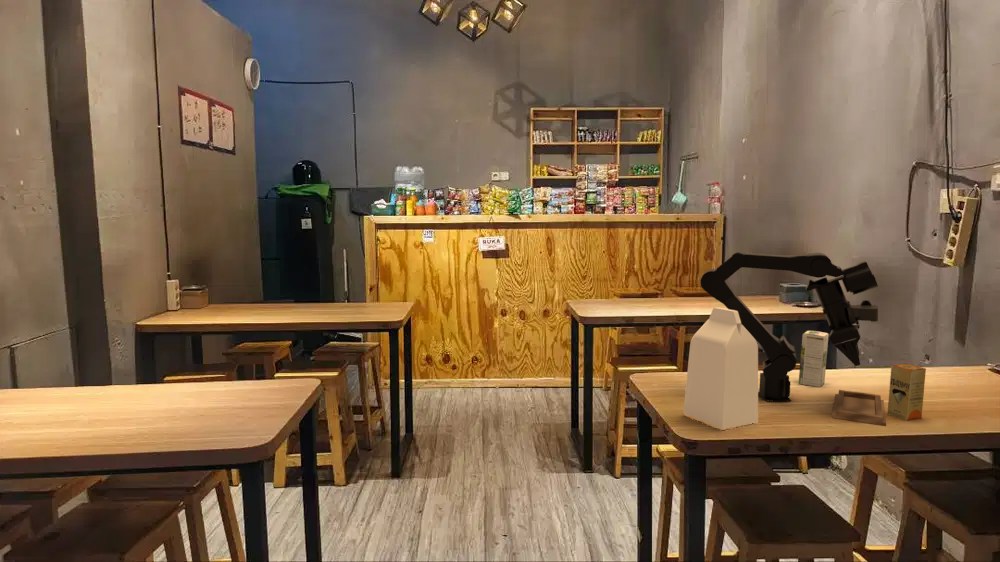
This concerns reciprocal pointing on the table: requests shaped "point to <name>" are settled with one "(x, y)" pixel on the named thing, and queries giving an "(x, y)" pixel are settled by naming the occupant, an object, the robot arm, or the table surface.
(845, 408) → the tray
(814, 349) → the syrup box
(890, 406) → the shoe polish box
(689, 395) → the milk
